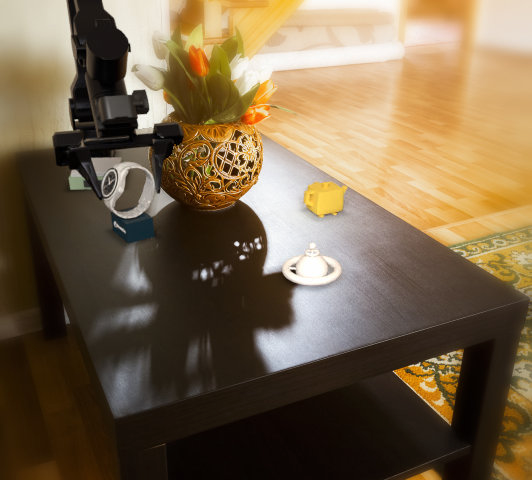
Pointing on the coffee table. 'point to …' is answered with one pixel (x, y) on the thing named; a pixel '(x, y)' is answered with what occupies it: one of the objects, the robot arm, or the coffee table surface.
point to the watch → (134, 218)
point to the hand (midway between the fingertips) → (130, 195)
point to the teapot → (324, 198)
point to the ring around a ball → (311, 268)
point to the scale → (100, 168)
